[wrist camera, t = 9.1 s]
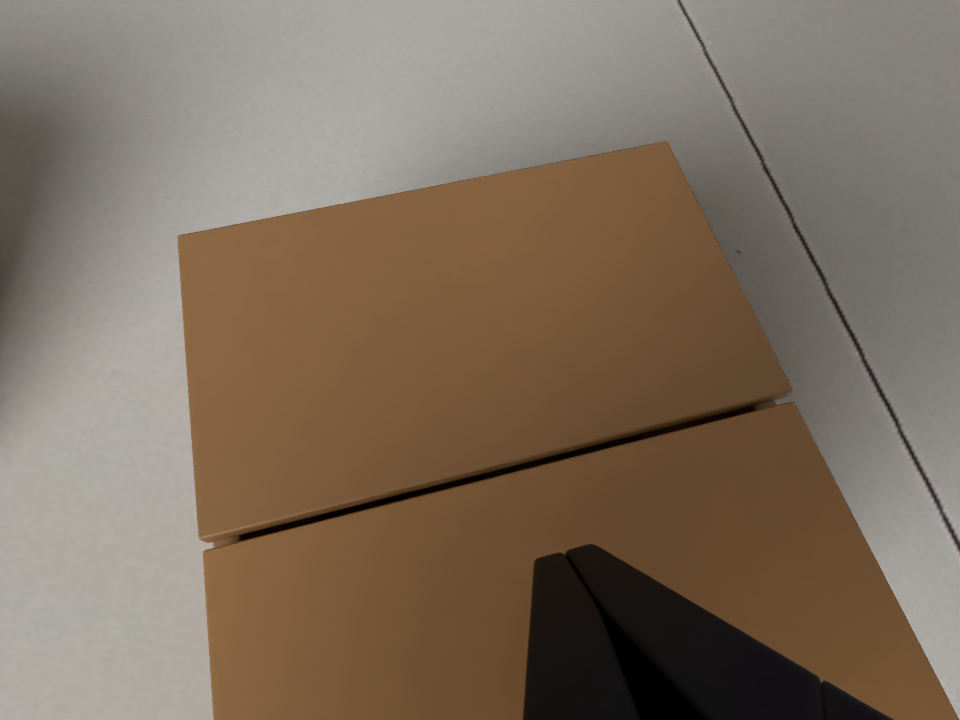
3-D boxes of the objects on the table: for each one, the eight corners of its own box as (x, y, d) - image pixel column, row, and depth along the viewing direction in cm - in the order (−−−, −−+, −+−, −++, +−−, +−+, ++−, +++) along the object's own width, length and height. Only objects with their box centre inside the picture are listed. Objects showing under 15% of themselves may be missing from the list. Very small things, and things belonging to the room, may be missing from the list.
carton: (747, 729, 17) (1006, 798, 9) (355, 854, 16) (230, 1071, 8) (594, 328, 23) (668, 136, 14) (289, 398, 21) (173, 232, 13)
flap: (979, 788, 9) (998, 793, 9) (245, 1044, 8) (234, 1062, 8) (784, 408, 12) (794, 399, 12) (210, 554, 11) (201, 550, 10)
